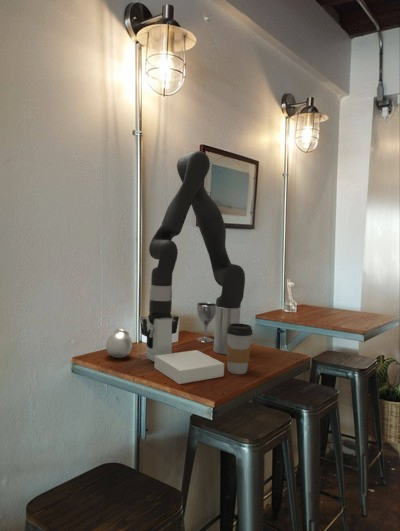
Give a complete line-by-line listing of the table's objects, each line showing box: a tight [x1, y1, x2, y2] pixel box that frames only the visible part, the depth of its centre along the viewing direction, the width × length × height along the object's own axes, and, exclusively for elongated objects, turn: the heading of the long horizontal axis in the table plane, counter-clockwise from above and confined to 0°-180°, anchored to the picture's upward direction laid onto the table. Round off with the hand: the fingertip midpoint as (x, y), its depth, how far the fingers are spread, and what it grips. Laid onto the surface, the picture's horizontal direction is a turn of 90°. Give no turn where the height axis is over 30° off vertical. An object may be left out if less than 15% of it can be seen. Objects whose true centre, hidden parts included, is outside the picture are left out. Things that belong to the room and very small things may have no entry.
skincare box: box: [146, 318, 173, 363], centre depth 144 cm, size 8×6×15 cm
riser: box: [154, 349, 225, 385], centre depth 134 cm, size 16×16×4 cm
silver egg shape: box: [105, 327, 133, 359], centre depth 145 cm, size 9×10×10 cm
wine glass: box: [196, 302, 216, 343], centre depth 174 cm, size 8×8×15 cm
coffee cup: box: [226, 323, 254, 375], centre depth 137 cm, size 8×8×15 cm
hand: (158, 346), depth 145 cm, fingers closed on skincare box, 6 cm apart
